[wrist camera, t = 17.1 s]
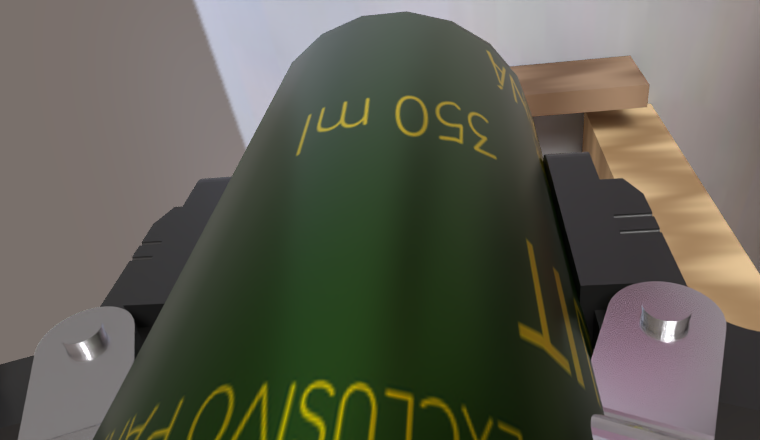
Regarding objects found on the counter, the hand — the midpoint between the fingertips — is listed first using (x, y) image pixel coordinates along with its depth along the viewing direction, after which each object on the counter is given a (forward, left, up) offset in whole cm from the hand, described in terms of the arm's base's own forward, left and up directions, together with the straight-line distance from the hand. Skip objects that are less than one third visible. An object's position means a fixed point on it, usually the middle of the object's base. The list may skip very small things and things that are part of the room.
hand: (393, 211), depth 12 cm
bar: (-10, +12, -25) cm, 30 cm away
